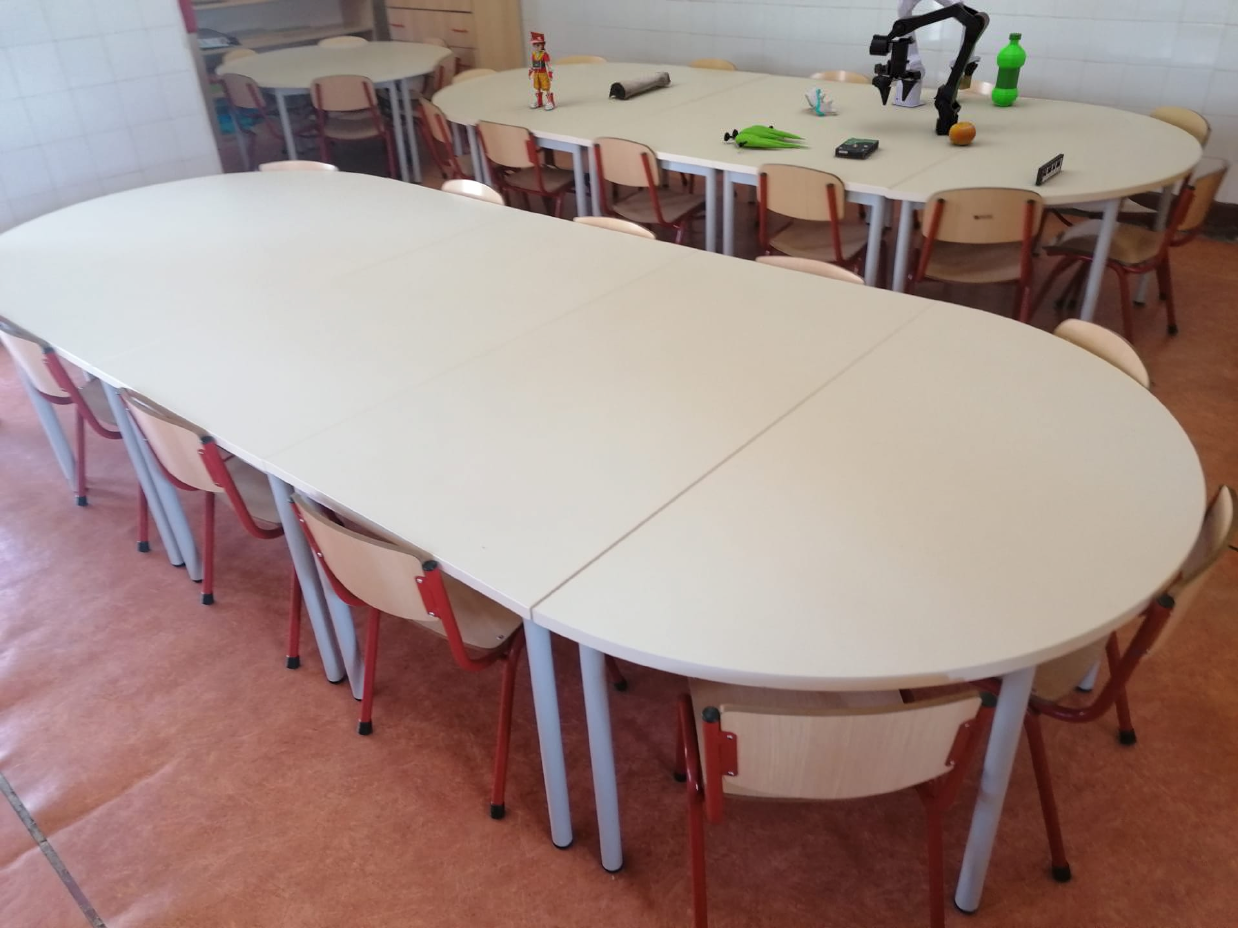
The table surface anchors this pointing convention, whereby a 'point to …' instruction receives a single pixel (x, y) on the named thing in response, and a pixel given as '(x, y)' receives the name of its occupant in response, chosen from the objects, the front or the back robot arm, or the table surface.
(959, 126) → the fruit
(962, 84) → the block
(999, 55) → the plastic bottle
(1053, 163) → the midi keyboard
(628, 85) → the rolled mat
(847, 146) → the disk drive
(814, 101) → the anatomical model
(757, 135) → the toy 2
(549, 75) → the toy
